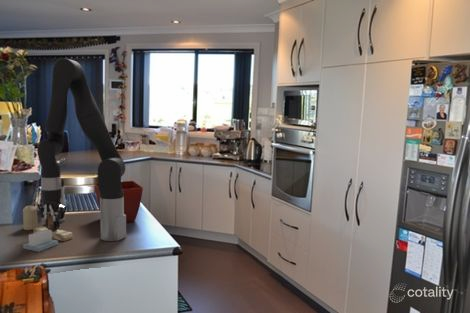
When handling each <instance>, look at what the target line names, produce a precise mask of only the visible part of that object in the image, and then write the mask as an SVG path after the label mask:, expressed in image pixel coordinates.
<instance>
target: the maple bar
mask: <svg viewBox="0 0 470 313" xmlns="http://www.w3.org/2000/svg"><path fill="white" fill-rule="evenodd" d="M47 218H48V230H52V240H57V241H62V242H66V241H69V240H72V239H73V232H71V231H67V230H64V229H63V230H62V229H57V230H54V229H53V221H54V220H53V216H52V215H51V214H49V215H47ZM56 218H57V215H56ZM45 229H47V228H46V226H43V225H40V226H38V227H37V228H33V230H32V231H33V233H36V232H39V231H42V230H45ZM33 233H32V234H33Z"/></svg>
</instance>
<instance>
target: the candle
mask: <svg viewBox="0 0 470 313" xmlns="http://www.w3.org/2000/svg"><path fill="white" fill-rule="evenodd" d="M22 221H23V223H22V224H23V230H25V231H33V228H37V227H39V225H38V207H36V206H34V205H33V204H31V205H27V206H24V207H23V209H22Z"/></svg>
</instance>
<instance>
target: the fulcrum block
mask: <svg viewBox="0 0 470 313" xmlns="http://www.w3.org/2000/svg"><path fill="white" fill-rule="evenodd" d="M57 245H59V240H57V239H52V230H48V229H45V230H42V231H39V232H36V233H30V234H28V242H26V243H24V244H22V248H23V249H24V250H28V251H34V252H38V253H39V252H43V251H45V250H47V249H49V248H52V247H55V246H57Z"/></svg>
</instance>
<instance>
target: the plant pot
mask: <svg viewBox="0 0 470 313" xmlns="http://www.w3.org/2000/svg"><path fill="white" fill-rule="evenodd" d="M93 185H94V192H95V196H96V201H97V204H98V206H99V209H100V192H99V189H98V182H96V183H94V184H93ZM121 187H122V189H123V191H124V215H126V223H131V222H135V221H136V219H137V217H138V216H137V215H138V213H139V209H140V206H141V202H142V196H143V190H144V187H143V186H142V185H140V184H138V183H137V182H136V181H135V180H123V181H122V180H121Z"/></svg>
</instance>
